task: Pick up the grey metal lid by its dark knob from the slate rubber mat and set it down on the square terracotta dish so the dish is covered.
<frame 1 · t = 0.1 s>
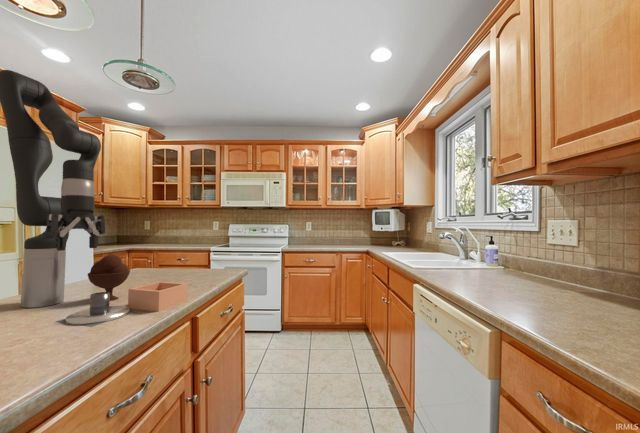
hand: (77, 249, 81), 17 cm above the counter, tool pointing down, fingers open, 8 cm apart
mat: (99, 318, 71), on the counter
lid: (99, 316, 71), point 1 cm above the counter, touching mat
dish: (159, 306, 82), on the counter
ice cream bowl: (108, 301, 88), on the counter
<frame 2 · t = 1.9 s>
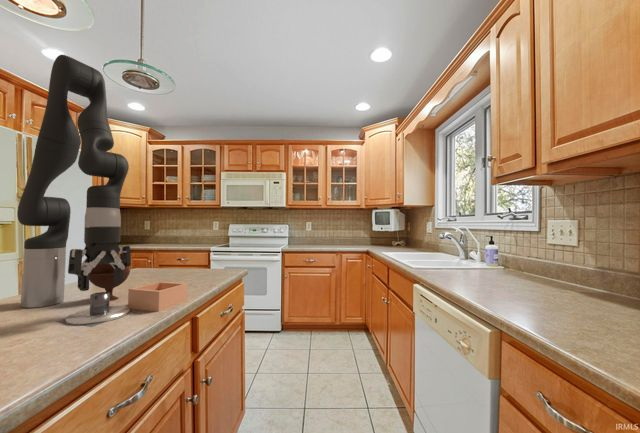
hand: (101, 286, 72), 8 cm above the counter, tool pointing down, fingers open, 8 cm apart
nothing on the counter moved.
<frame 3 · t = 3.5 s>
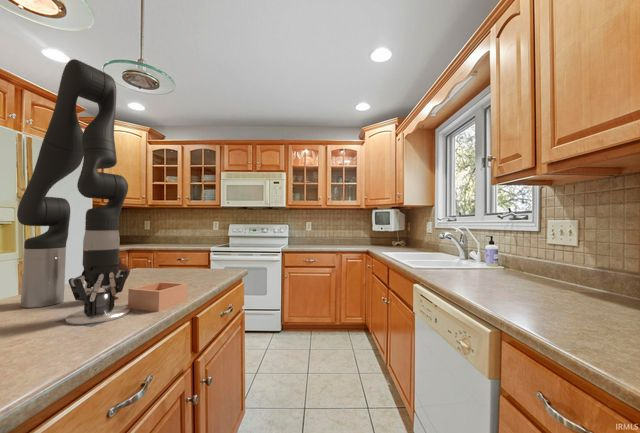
hand: (99, 312, 71), 1 cm above the counter, tool pointing down, fingers closed on lid, 4 cm apart
lid: (99, 315, 71), point 1 cm above the counter, touching gripper, mat
everything else where it was.
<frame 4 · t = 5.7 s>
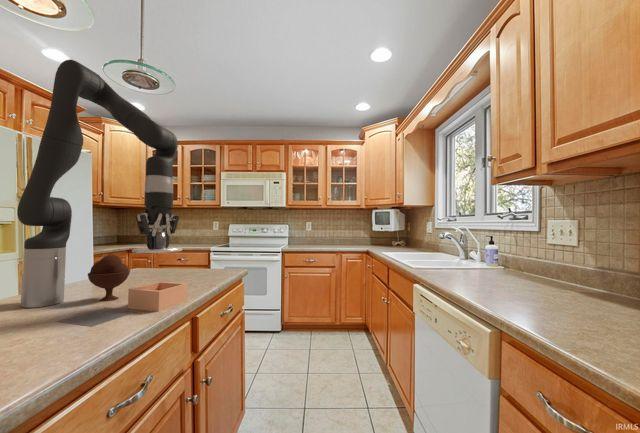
hand: (158, 248, 82), 18 cm above the counter, tool pointing down, fingers closed on lid, 4 cm apart
lid: (158, 251, 82), point 17 cm above the counter, touching gripper
everything else where it was.
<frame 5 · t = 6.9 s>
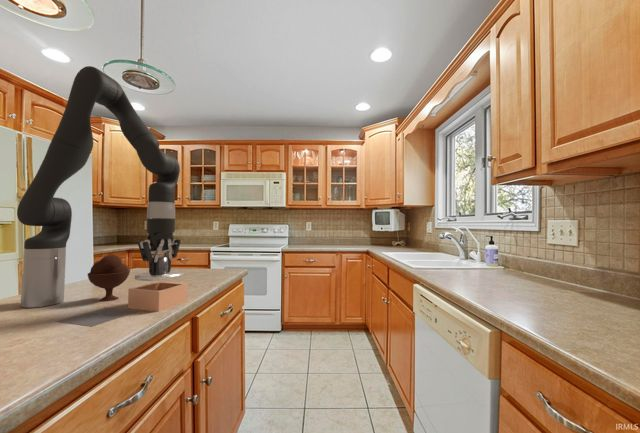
hand: (160, 273, 83), 10 cm above the counter, tool pointing down, fingers closed on lid, 4 cm apart
lid: (160, 276, 83), point 9 cm above the counter, touching gripper
everything else where it was.
when the fingers open (8 cm above the counter, at t = 7.9 s): lid drops 1 cm, resting on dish.
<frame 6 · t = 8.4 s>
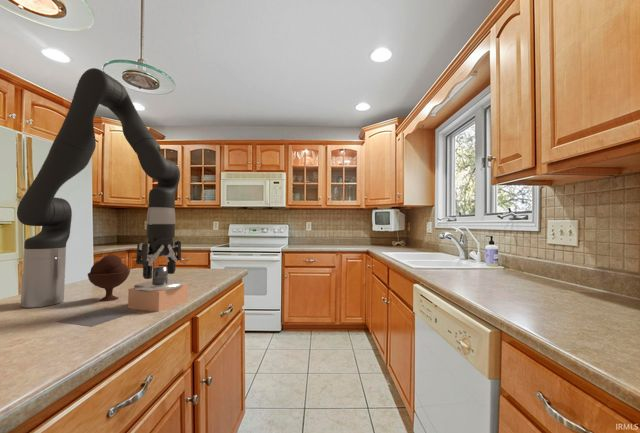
hand: (159, 276, 83), 9 cm above the counter, tool pointing down, fingers open, 8 cm apart
lid: (159, 286, 83), point 6 cm above the counter, touching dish
everything else where it was.
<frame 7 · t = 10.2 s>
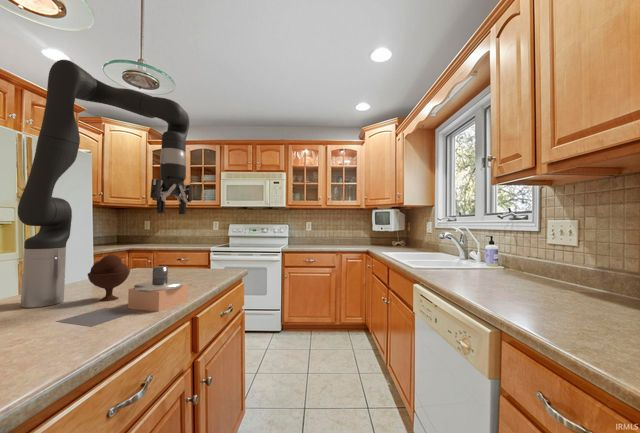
hand: (172, 213, 89), 28 cm above the counter, tool pointing down, fingers open, 8 cm apart
nothing on the counter moved.
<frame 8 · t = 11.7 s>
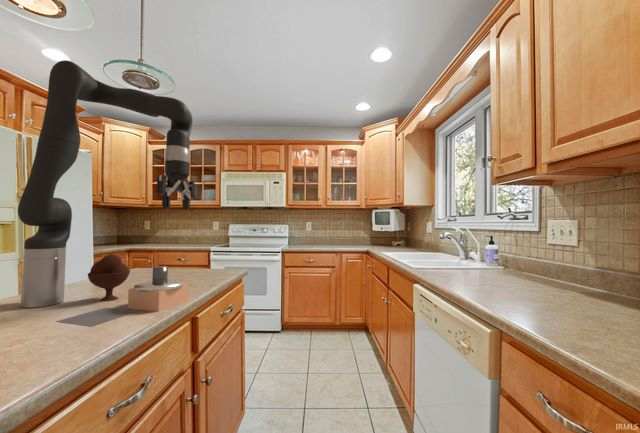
hand: (176, 208, 92), 30 cm above the counter, tool pointing down, fingers open, 8 cm apart
nothing on the counter moved.
at the end: lid 0.1 cm off-centre on the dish, point 6.0 cm above the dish's base; lid tilted 0°; the gripper is holding nothing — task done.
